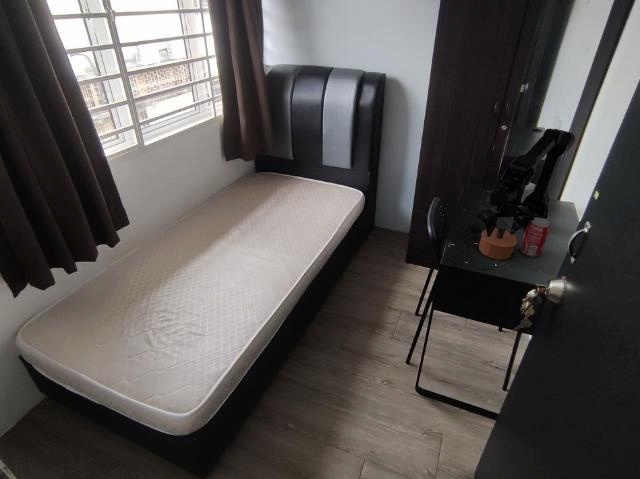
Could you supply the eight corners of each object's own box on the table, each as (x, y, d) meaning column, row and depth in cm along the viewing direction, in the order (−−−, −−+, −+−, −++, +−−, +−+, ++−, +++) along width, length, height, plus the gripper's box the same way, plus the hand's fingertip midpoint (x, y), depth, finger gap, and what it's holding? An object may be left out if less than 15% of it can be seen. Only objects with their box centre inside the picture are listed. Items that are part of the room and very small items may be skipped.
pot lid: (504, 229, 145) (508, 217, 142) (523, 247, 135) (527, 235, 132) (474, 232, 143) (478, 220, 140) (492, 250, 133) (496, 238, 130)
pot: (500, 240, 147) (504, 228, 144) (517, 258, 138) (522, 245, 135) (473, 243, 146) (476, 231, 143) (488, 261, 136) (493, 248, 133)
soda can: (542, 259, 138) (555, 228, 130) (521, 256, 139) (532, 226, 132) (537, 247, 144) (549, 218, 136) (516, 245, 145) (527, 215, 137)
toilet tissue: (495, 200, 174) (501, 180, 169) (518, 197, 177) (525, 177, 171) (510, 211, 166) (517, 191, 160) (534, 208, 168) (542, 188, 163)
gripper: (522, 184, 137) (510, 221, 146) (474, 188, 135) (464, 225, 143) (543, 199, 128) (528, 237, 137) (491, 203, 126) (480, 242, 134)
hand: (499, 235), depth 138 cm, fingers open, 9 cm apart
